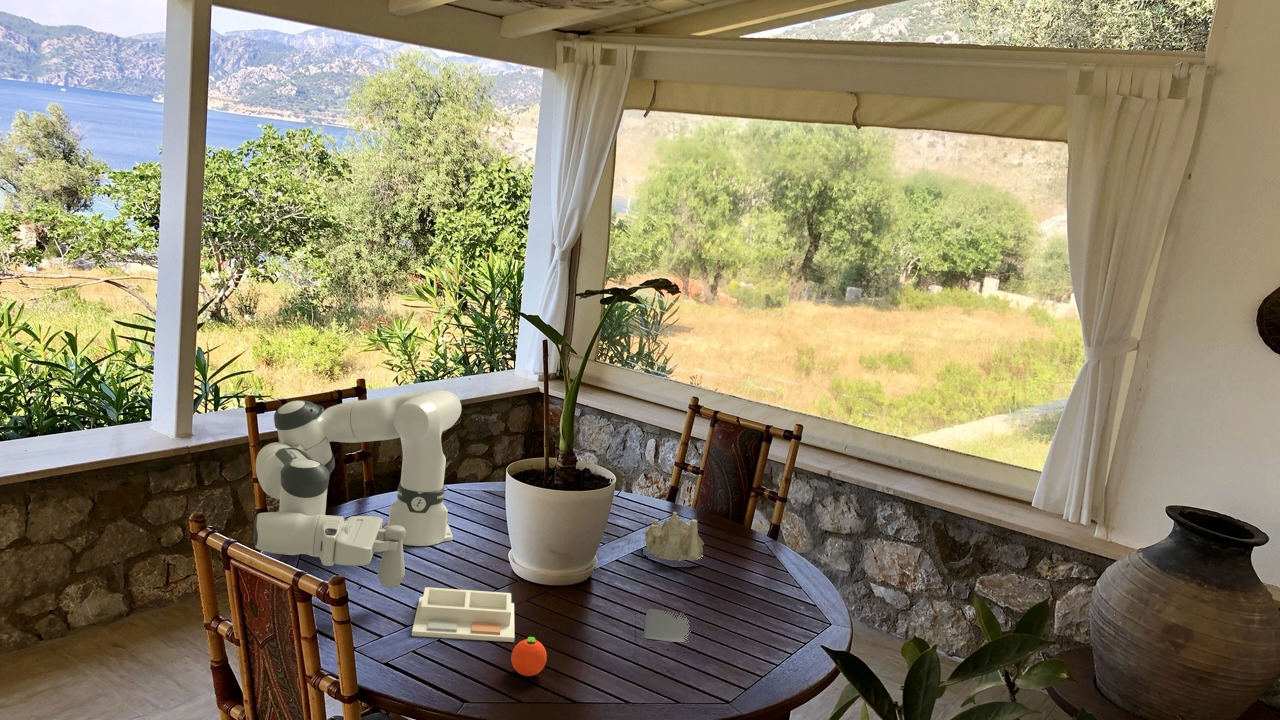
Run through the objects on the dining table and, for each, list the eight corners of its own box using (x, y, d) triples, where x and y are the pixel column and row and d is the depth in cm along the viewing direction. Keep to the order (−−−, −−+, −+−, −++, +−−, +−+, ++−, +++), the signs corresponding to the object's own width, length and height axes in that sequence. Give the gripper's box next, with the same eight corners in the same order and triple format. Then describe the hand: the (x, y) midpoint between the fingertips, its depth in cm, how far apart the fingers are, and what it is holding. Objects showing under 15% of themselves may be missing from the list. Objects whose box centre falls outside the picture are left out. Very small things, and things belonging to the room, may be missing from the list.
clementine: (510, 661, 183) (514, 627, 182) (545, 664, 184) (549, 631, 182) (508, 681, 175) (512, 646, 174) (544, 684, 176) (548, 649, 175)
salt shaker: (393, 592, 194) (399, 533, 193) (370, 585, 196) (376, 527, 194) (408, 582, 200) (414, 526, 198) (386, 576, 202) (391, 520, 200)
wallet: (701, 650, 196) (631, 639, 197) (700, 658, 197) (630, 647, 197) (700, 611, 216) (636, 602, 217) (699, 619, 217) (635, 609, 217)
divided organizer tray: (419, 601, 204) (421, 584, 204) (513, 607, 208) (515, 590, 207) (411, 635, 188) (413, 617, 187) (513, 642, 191) (516, 624, 190)
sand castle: (709, 568, 248) (714, 514, 247) (651, 569, 244) (656, 514, 242) (691, 550, 263) (695, 499, 262) (636, 550, 259) (640, 499, 257)
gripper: (339, 533, 205) (402, 538, 207) (322, 569, 185) (391, 574, 187) (342, 506, 204) (405, 511, 206) (324, 539, 184) (394, 544, 186)
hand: (399, 541), depth 197 cm, fingers closed on salt shaker, 3 cm apart
